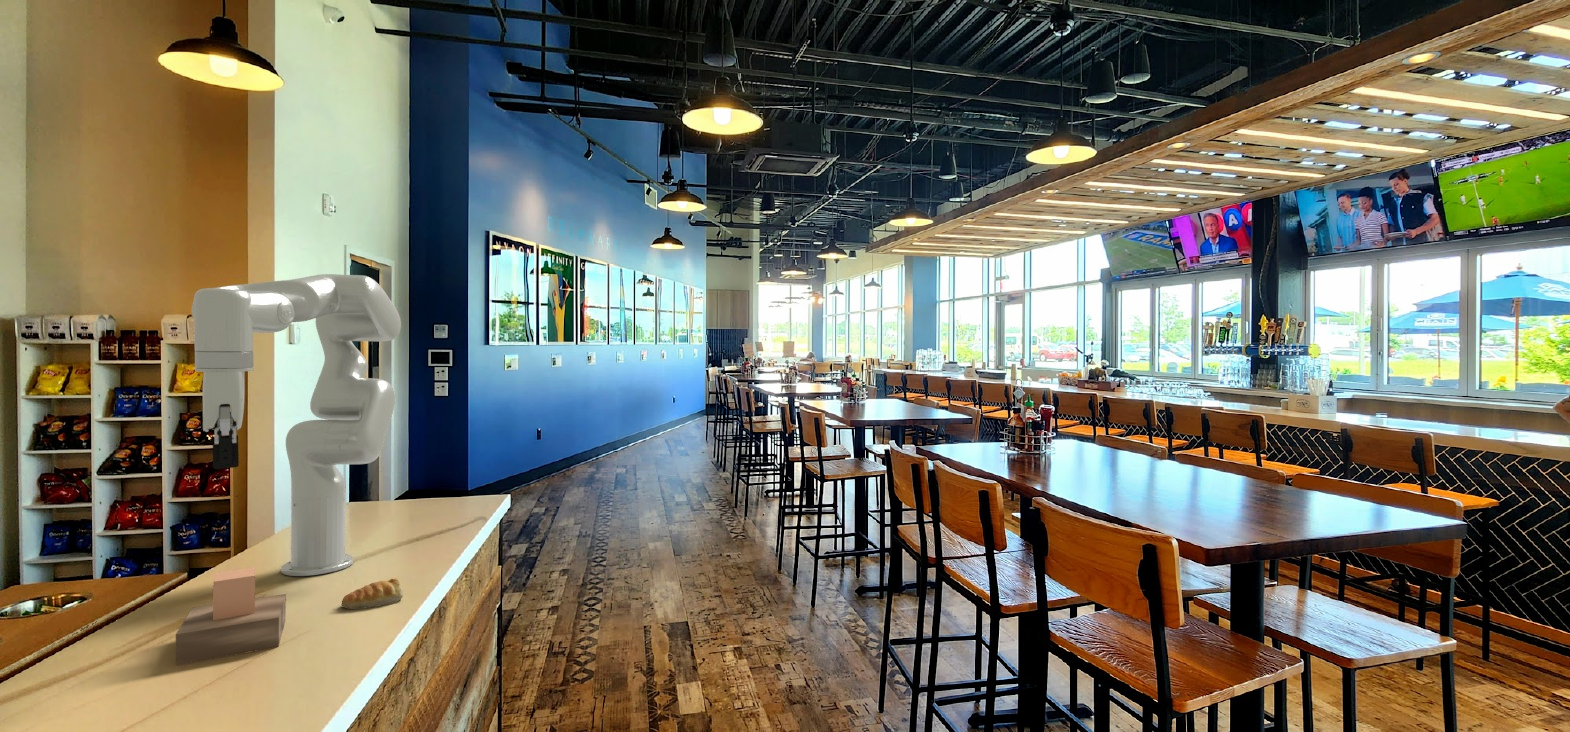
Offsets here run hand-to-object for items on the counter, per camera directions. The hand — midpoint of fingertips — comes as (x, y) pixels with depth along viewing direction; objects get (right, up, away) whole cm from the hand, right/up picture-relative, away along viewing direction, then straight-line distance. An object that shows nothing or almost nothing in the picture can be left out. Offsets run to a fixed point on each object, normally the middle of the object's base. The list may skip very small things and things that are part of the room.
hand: (226, 463), depth 111 cm
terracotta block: (+7, -23, -7) cm, 25 cm away
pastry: (+19, -28, +11) cm, 35 cm away
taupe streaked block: (+7, -28, -7) cm, 29 cm away
